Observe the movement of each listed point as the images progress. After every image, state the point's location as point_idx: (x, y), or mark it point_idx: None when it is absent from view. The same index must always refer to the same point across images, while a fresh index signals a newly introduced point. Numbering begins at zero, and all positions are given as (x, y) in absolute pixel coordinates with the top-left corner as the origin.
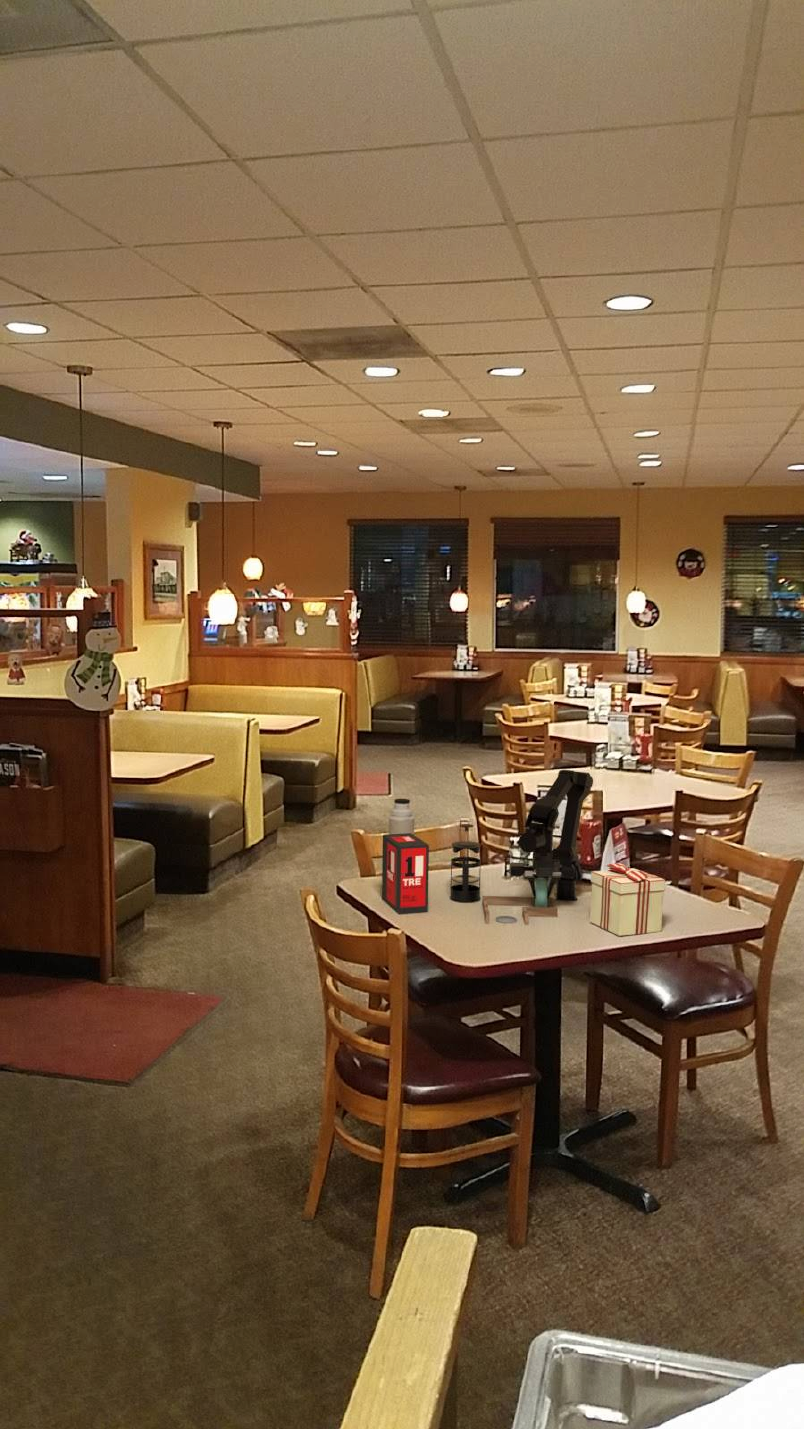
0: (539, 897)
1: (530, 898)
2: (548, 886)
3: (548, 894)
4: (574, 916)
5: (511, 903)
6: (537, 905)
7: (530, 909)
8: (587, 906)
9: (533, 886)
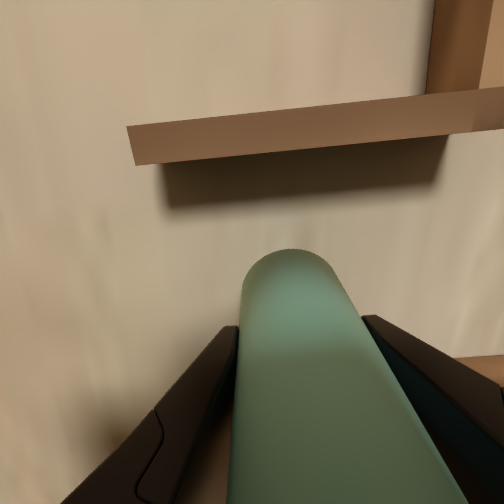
0: (328, 295)
1: None
2: (215, 466)
3: (222, 350)
4: (25, 177)
5: (479, 367)
6: (325, 264)
7: (419, 97)
8: (5, 403)
9: (494, 413)
